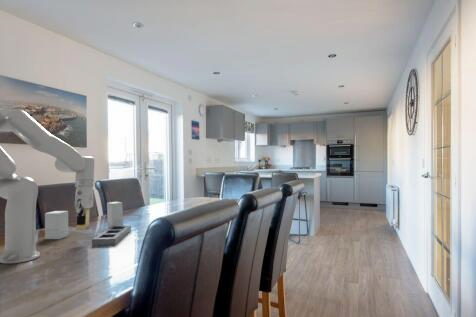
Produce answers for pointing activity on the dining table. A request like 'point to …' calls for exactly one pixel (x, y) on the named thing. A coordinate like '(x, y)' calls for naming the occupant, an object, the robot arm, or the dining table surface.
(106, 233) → the grey compartment tray
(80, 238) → the dining table surface
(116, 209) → the skincare box
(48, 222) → the supplement box
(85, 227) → the brass block
